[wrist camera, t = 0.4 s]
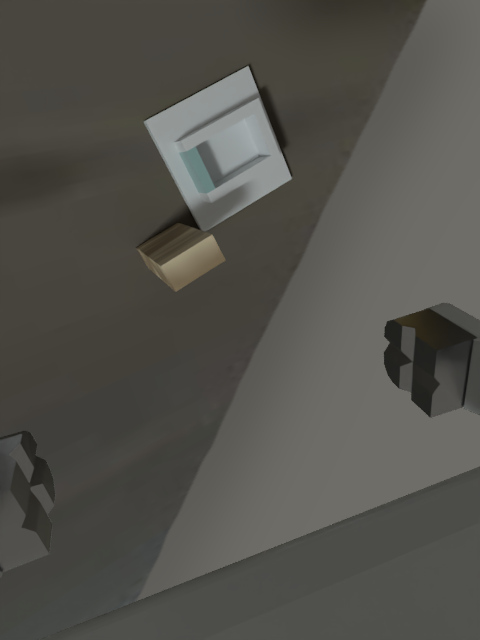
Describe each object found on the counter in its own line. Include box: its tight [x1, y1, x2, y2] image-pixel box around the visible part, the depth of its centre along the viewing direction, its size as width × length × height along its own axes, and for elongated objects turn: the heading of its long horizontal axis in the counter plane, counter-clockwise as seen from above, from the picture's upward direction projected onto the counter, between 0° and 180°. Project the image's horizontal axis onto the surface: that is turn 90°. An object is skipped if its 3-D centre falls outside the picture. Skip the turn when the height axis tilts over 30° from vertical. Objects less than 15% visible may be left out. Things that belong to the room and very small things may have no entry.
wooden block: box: [136, 223, 225, 291], centre depth 47 cm, size 3×6×12 cm, turn 117°
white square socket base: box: [144, 66, 292, 232], centre depth 51 cm, size 14×14×4 cm
